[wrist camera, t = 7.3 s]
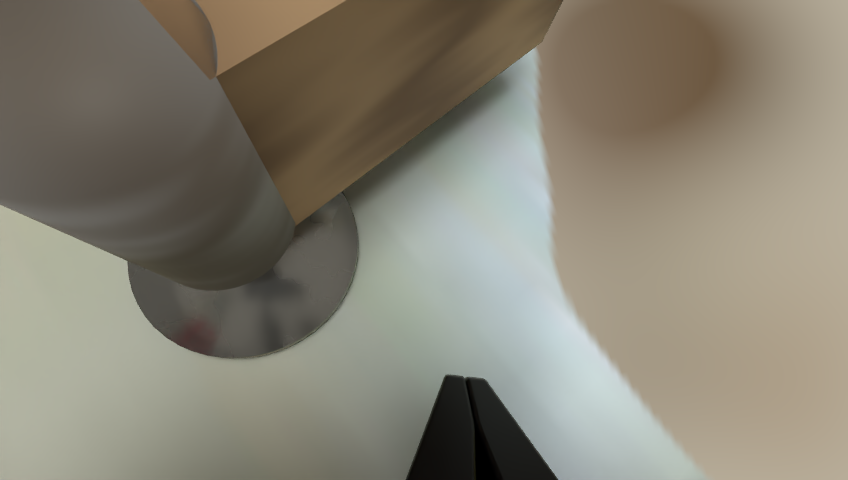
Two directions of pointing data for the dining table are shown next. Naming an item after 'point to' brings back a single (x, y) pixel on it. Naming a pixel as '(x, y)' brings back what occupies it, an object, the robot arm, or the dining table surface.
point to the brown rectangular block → (227, 113)
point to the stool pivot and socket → (260, 293)
